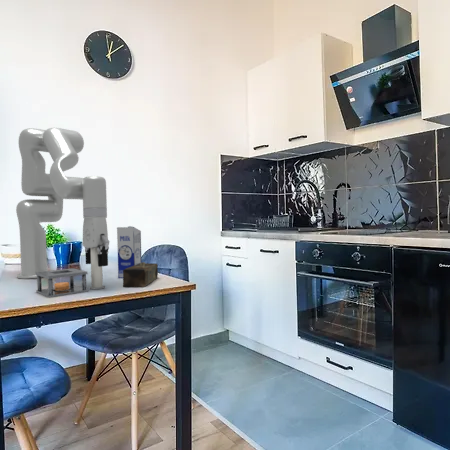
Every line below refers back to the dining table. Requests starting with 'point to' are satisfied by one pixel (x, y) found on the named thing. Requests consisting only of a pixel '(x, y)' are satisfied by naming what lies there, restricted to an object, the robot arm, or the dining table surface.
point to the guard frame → (58, 274)
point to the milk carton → (128, 248)
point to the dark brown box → (140, 274)
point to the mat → (96, 288)
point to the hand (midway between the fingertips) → (96, 264)
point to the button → (61, 286)
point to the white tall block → (96, 270)
